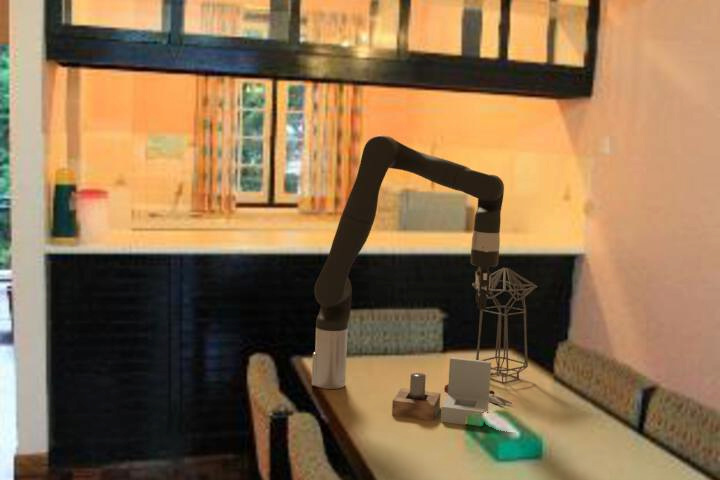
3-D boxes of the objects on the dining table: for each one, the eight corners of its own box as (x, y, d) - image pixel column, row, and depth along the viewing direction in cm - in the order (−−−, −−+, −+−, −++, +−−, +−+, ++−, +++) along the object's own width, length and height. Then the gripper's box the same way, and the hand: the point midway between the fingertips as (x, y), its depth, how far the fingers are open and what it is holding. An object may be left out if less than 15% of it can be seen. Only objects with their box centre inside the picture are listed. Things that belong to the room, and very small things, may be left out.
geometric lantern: (503, 388, 230) (508, 273, 227) (465, 376, 242) (469, 266, 239) (537, 380, 240) (541, 269, 236) (498, 368, 252) (502, 263, 249)
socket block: (391, 415, 203) (392, 400, 202) (400, 402, 213) (401, 388, 213) (433, 420, 200) (433, 405, 200) (439, 407, 211) (440, 393, 210)
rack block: (440, 421, 200) (443, 369, 198) (447, 406, 212) (450, 357, 210) (483, 427, 197) (486, 374, 195) (487, 411, 209) (491, 361, 207)
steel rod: (407, 412, 205) (409, 376, 204) (410, 407, 209) (412, 372, 208) (422, 414, 204) (424, 378, 203) (424, 409, 208) (426, 373, 207)
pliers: (494, 412, 210) (495, 402, 210) (442, 392, 226) (442, 383, 225) (521, 405, 217) (522, 396, 217) (468, 386, 233) (469, 378, 233)
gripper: (470, 244, 217) (465, 300, 219) (472, 250, 203) (468, 310, 205) (496, 245, 216) (492, 302, 218) (501, 252, 202) (496, 312, 204)
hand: (480, 306), depth 212 cm, fingers open, 8 cm apart
